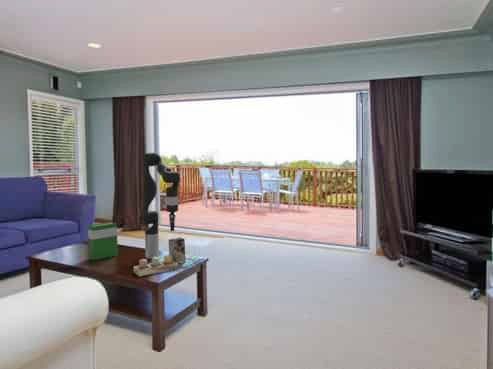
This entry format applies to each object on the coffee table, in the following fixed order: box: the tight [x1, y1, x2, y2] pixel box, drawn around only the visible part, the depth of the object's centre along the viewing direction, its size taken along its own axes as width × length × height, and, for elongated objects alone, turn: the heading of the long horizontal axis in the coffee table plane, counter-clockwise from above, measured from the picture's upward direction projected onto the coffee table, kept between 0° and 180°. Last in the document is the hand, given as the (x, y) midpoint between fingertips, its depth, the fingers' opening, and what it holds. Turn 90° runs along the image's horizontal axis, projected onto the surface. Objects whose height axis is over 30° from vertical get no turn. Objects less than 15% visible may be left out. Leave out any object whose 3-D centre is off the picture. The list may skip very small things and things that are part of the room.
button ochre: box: [163, 254, 172, 264], centre depth 238 cm, size 5×5×5 cm
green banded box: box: [87, 221, 119, 261], centre depth 266 cm, size 18×7×24 cm, turn 137°
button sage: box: [151, 256, 161, 267], centre depth 233 cm, size 5×5×5 cm
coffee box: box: [168, 237, 186, 264], centre depth 250 cm, size 9×6×16 cm
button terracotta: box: [138, 258, 148, 269], centre depth 229 cm, size 5×5×5 cm
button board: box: [132, 260, 179, 277], centre depth 234 cm, size 11×25×4 cm, turn 124°
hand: (172, 229), depth 231 cm, fingers open, 8 cm apart
